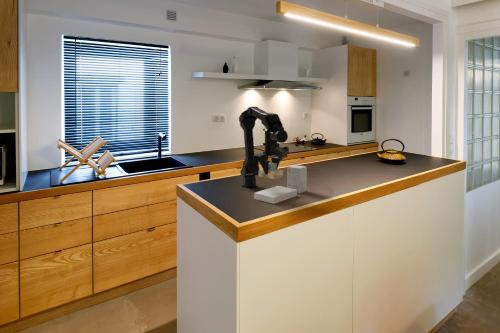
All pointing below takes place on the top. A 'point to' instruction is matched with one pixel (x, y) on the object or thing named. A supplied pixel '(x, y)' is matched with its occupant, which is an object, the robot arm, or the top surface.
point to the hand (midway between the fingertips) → (270, 173)
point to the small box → (297, 178)
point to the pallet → (271, 173)
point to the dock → (275, 194)
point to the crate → (271, 166)
